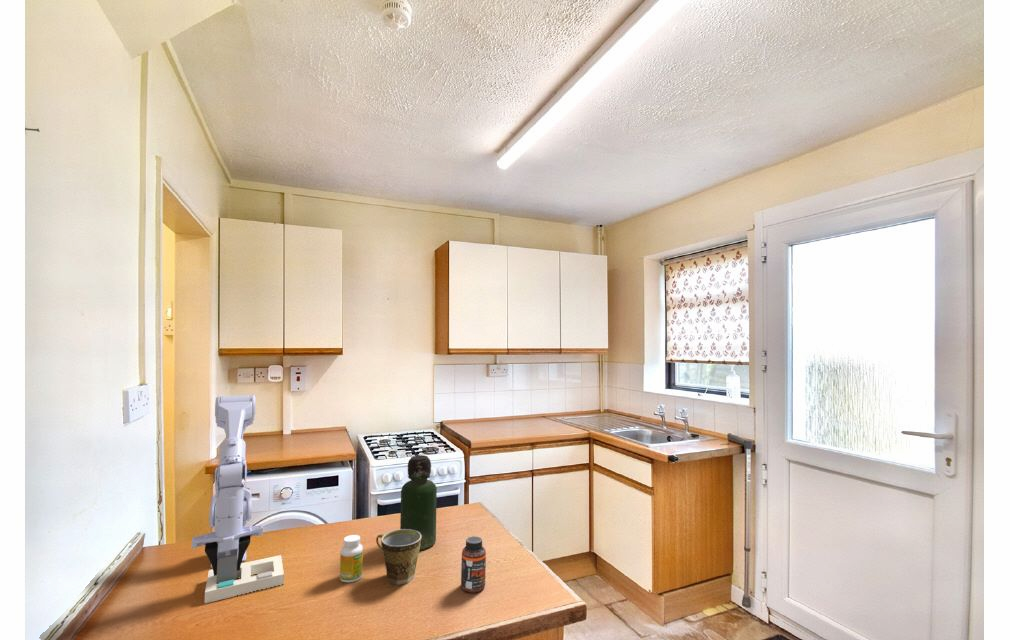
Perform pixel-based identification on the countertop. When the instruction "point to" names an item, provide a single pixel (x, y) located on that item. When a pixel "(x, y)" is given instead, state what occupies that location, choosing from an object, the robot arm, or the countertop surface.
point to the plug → (227, 565)
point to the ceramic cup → (400, 554)
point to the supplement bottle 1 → (351, 559)
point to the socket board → (246, 579)
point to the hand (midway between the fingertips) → (227, 571)
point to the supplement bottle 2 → (473, 565)
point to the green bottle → (419, 501)
